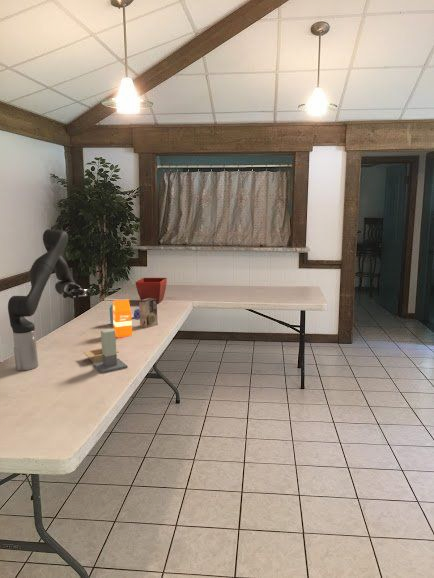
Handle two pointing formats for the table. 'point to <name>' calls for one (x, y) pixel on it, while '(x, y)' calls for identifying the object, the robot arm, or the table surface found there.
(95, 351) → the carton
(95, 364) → the slate mat
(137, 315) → the pudding
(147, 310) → the coffee box
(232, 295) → the table surface
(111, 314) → the data package
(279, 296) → the table surface
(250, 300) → the table surface
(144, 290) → the plant pot
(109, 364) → the box
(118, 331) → the orange juice
